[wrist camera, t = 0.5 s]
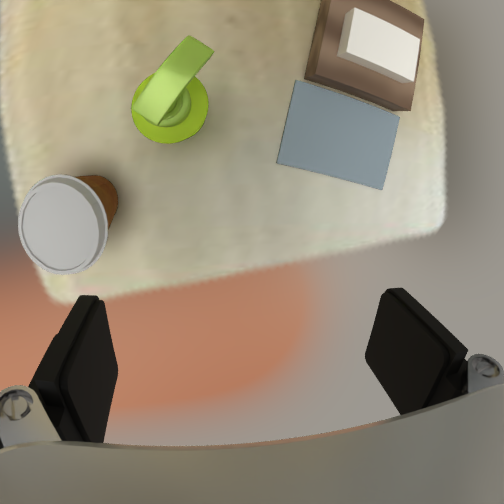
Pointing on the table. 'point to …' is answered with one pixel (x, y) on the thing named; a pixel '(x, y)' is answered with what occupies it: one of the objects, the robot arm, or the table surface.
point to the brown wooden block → (349, 73)
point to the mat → (337, 136)
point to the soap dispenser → (173, 96)
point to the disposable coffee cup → (67, 221)
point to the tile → (379, 46)
